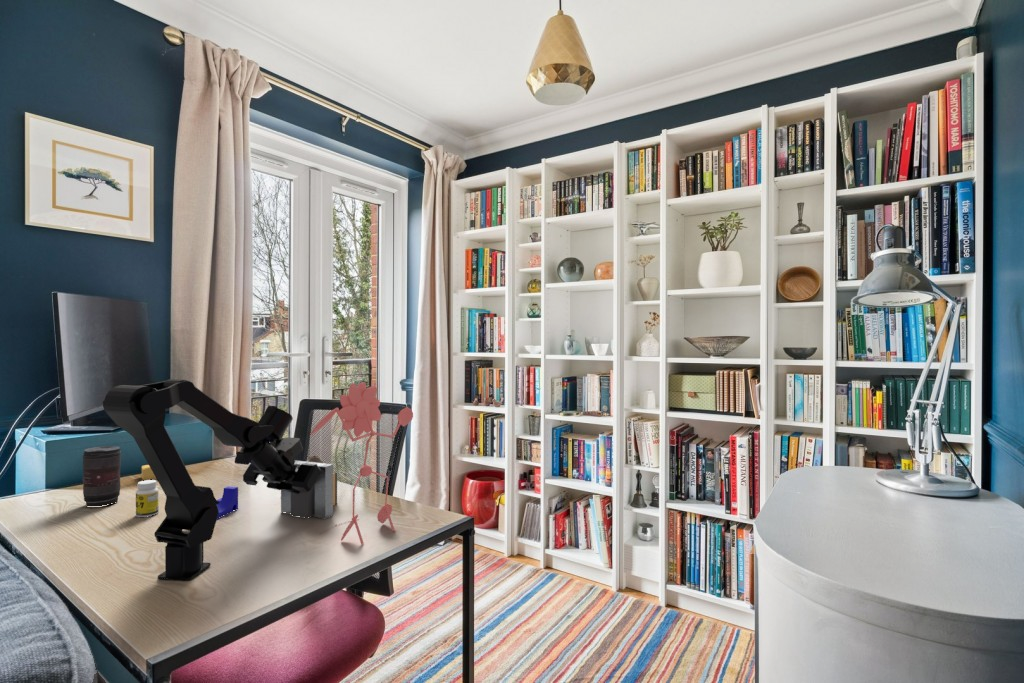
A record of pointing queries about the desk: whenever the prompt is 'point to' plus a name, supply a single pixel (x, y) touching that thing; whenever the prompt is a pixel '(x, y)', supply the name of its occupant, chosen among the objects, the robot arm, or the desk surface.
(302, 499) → the plug
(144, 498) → the supplement bottle
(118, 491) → the camera lens
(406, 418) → the figurine
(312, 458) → the vase
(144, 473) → the rubber stamp
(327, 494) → the frame
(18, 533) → the desk surface
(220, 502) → the cable clip
